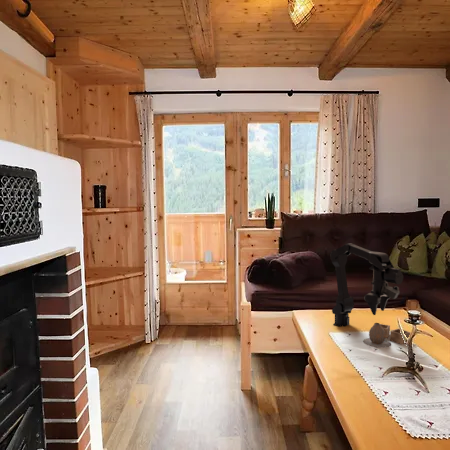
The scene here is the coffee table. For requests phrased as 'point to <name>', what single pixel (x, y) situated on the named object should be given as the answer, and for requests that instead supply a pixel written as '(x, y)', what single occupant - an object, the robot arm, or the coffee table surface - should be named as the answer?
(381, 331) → the vase
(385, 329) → the box
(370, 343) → the coaster
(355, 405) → the coffee table surface
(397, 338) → the box
